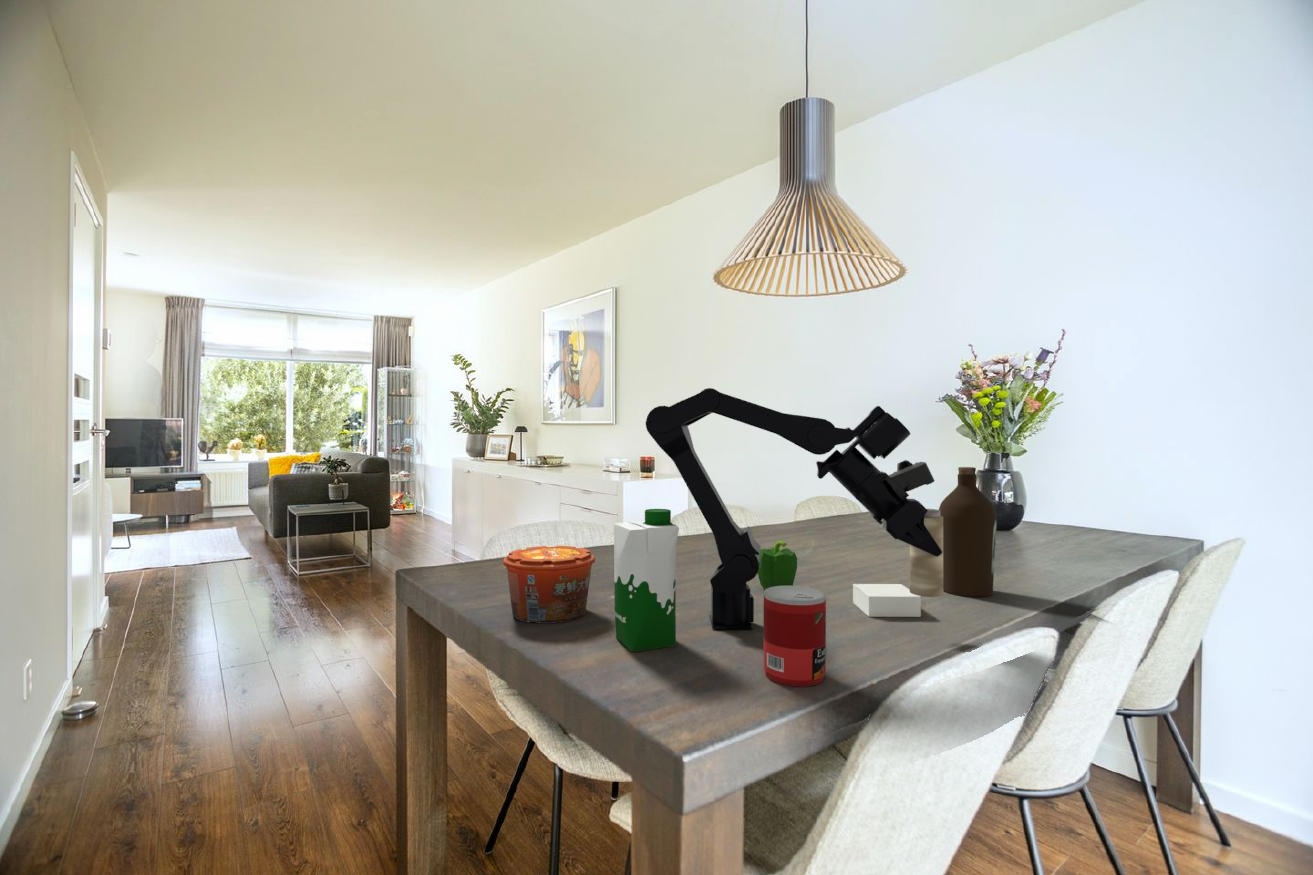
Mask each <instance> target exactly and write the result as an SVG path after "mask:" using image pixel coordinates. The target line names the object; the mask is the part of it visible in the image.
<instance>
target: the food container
mask: <svg viewBox="0 0 1313 875" xmlns="http://www.w3.org/2000/svg"><path fill="white" fill-rule="evenodd" d="M595 562H596V557H595V555H593V553H591V550H589V549H587V548H583V547H579V548H577V547H576V546H570V545H556V546H546V545H543V546H542V545H541V546H531V547H526V548H525V549H520V548H519V549H515V550H512V551H510V552H509V553H508V554H507V556H505V557H503V560H502V566H503V569H505V570H506V572H507V580H508V582H507V583H508V589H509V596H510V597H509V599H510V606H511V613H512V615H513V617H514V618H515V619H516V620H518V619H519V621H521V622H525V621H529V622H528V623H530V622H536V623H535V624H554V623H553V622H559V623H562V622H561V621H565V622H569V621H573V620H575V619H578V618H581V617H583V616H584V615H585V614H586V610H587V604H588V596H589V587H590V582H591V581H590V580H591V574H592V565H593V564H594V563H595ZM537 622H538V623H537ZM539 622H540V623H539Z"/></svg>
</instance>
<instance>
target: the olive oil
mask: <svg viewBox="0 0 1313 875" xmlns="http://www.w3.org/2000/svg"><path fill="white" fill-rule="evenodd" d="M957 469H958V474H957V486H956V487H955V488H954V489H953V490H952V491H951V492H950V493H949V494H948V495H947V496H946V497H945V498H944V499H943V500H942V501H941V502H940V505H939V506H938V510H940V516H942V517H943V592H945V593H946V594H947V593H948V594H952V595H955V596H961V597H969V598H970V597H971V598H984V597H990V596H992V595H993V593H994V578H995V577H994V575H995V558H996V557H995V555H996V554H995V553H996V542H997V541H996V540H997V526H998V525H997V524H998V519H997V518H998V515H997V511H996V508H995V506H994V504H993V502H991V500H990V499H989V498H988V497H987V496H986V495H985V494H984V493H983V492H982V491H981V490H980V489H979V488H978V486H977V474H976V471H977V470H976V467H973V466H972V467H971V466H960V467H958V468H957Z"/></svg>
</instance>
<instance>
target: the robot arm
mask: <svg viewBox="0 0 1313 875" xmlns="http://www.w3.org/2000/svg"><path fill="white" fill-rule="evenodd" d="M711 414H716V415H719V416H722V417H725V418H728V419H731V420H734V421H736V422H739V423H742V424H746V425H749V426H752V427H754V428H758V429H761V430H763V431H767V432H769V433H772V434H776V435H778V436H780V437H781V438H783V439H784V440H787V441H788V442H791V443H792V444H794V445H795V446H798V447H799V448H801V449H803V450H805V451H807V452H809V453H811V454H812V455H817V456H818V455H820V456H821V455H822V456H823V455H826V454H827V453H830V452H831V451H832V450H833V449H834V448H835V447H836V446H839V445H844V444H849V443H851V442H852V441H853V440H854V439H855V440H854V441H853V442H852V443H851V444H850V445H848V446H847V448H845V449H844V450H843V451H842V452H840V451H839V449H836V450H835V451H833V452H832V453H831V454H830V455H828V457H827V458H826V459H824V461H820V460H819V461H818V460H817V461H816V462H815V464H816V467H817V471H816V472H817V473H816V476H817V478H818V479H820V480H821V479H823V478H824V477H825V476H826V475H828V473H830V474H831V475H832V477H834V479H835V480H837V482H839V484H840V485H842V486H843V488H844V489H846V490H847V492H848V493H850V494H851V496H853V497H854V499H855V500H857V501H858V502H859V503H860V504H861V505H862V506H863V507H864V508H865V509H866V510H867V511H868V512H869V513H870V516H871V517H872V518H873V519H874V520H875V521H876V522H877V523H878V524H879V525H882V528H883V529H884V530H885V531H886V532H887V533H888V534H889V535H890V536H892V537H893V539H894V540H899V541H901V542H903V543H906V544H907V545H909V546H910V545H912V546H914V547H916V548H919V549H921V550H923V551H925V552H928V553H930V554H932V555H934V556H936V557H938V556H939V555H940V554H942V550H941V549H940V547H939V546H938V544H937V543H936V541H935V540H934V539H933V537H932V536H931V534H930V533H929V531H928V529H927V528H926V526H925V525H924V517H925V514H926V513H927V511H928V510H927V509H928V508H926V507H925V506H924V505H923V504H922V503H921V502H920V500H916V499H915V498H908V497H909V496H910V494H909V493H908V492H910V491H913V490H914V489H918V488H919V487H920V488H921V487H922V486H925V485H926V486H928V485H931V484H933V483H934V482H935V478H934V476H933V474H932V472H931V470H930V468H929V466H928V464H927V462H925V461H919V462H915V463H914V464H913V463H912V462H911V461H909V460H907V459H905V460H902V461H900V462H898V463H897V467H896V468H897V470H896V471H894V472H893V473H891V474H887V473H886V472H884V471H882V470H879V468H878V467H876V466H875V464H873V463H872V461H870V460H869V459H868V458H867V457H866V456H865V455H864V454H863V453H862V452H861V451H860V450H859V449H858V448H857V446H859V447H860V448H861V449H862V450H863V451H864V452H865V453H866V454H867V455H868V456H869V457H870V458H872V459H873V460H875V459H876V458H877V457H878V458H879V457H880V458H882V459H883V460H884V459H886V458H887V457H888V456H889V455H891V453H892V452H894V450H896V449H897V448H898V447H899V446H900V445H901V444H902V443H903V442H904V441H905V440H907V438H908V437H910V436H911V432H910V430H909V429H908V428H907V427H906V426H905V425H904V423H902V421H900V420H899V419H898V418H897V417H896V418H895V417H894V416H892V415H891V414H890V413H889V412H888V411H886V410H884V409H883V408H882V407H881V406H880V405H877V406H874V407H873V408H872V410H871V411H870V412H869V414H868V415H867V416H866V417H865V418H864V419H863V420H862V421H861V422H859V424H858V425H857V426H856V427H854V428H853V429H852V428H850V427H849V426H848V427H846V428H840V427H836V426H835V425H834V424H833V423H832V422H831V421H829V420H827V419H825V418H820V417H813V416H807V415H800V414H798V415H797V414H792V413H791V414H790V413H785V412H782V411H778V410H775V409H772V408H769V407H765V406H762V405H759V404H757V403H754V402H751V401H747V400H744V399H741V398H738V397H735V396H732V395H730V394H726V393H723V392H720V391H718V390H717V389H715V388H711V387H708V388H704V389H703V390H701V391H700V392H698V393H696V394H694V395H692V396H690V397H689V396H688V398H685V399H682V400H680V401H679V402H676V403H674V404H672V405H670V406H669V405H658V406H656V407H653V409H651V410H650V411H649V413H647V416H646V419H645V427H646V428H645V429H646V432H647V433H648V434H649V435H650V436H651V438H652V439H653V440H654V442H655V443H656V444H657V446H659V448H660V449H661V450H662V451H663V453H665V454H666V455H667V456H668V457H669V458H670V459H671V461H672V462H673V463H674V465H675V466H676V469H677V470H678V472H679V474H680V476H681V477H682V479H683V481H684V483H685V485H686V487H687V488H688V490H689V492H690V495H692V498H693V500H694V501H695V503H696V505H697V507H698V509H699V510H700V512H701V514H702V516H703V518H704V519H705V521H706V523H707V525H708V527H709V529H710V530H711V533H712V535H713V538H714V540H715V545H716V549H717V554H718V556H719V560H720V562H721V563H720V565H718V566H717V567H716V568H715V570H714V571H713V574H712V576H711V578H710V580H709V582H710V614H709V621H710V625H711V628H712V629H714V630H752V629H753V625H752V623H754V620H755V608H754V607H755V602H754V601H755V598H754V596H753V595H752V594H751V587H750V585H748V582H750V581H752V580H753V579H755V577H756V576H758V570H759V565H760V560H761V557H760V549H762V546H761V544H759V543H758V542H757V540H755V537H754V534H753V532H752V529H751V527H750V526H747V527H746V528H744V529H742V528H741V527H740V526H739V525H738V524H737V523H736V522H735V521H734V518H732V515H731V513H730V512H729V510H728V508H727V506H726V505H725V502H724V501H723V499H722V497H721V495H720V494H719V492H718V490H717V488H716V487H715V485H714V482H713V481H712V480H711V478H710V475H709V474H708V472H707V470H706V469H705V467H704V465H703V463H702V461H701V460H700V458H699V456H698V454H697V453H696V450H695V448H694V443H693V440H692V437H691V436H692V435H691V432H690V430H689V429H690V428H689V426H691V425H692V424H694V423H696V422H698V421H700V420H702V419H704V418H705V417H707V416H709V415H711Z"/></svg>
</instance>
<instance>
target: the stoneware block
mask: <svg viewBox="0 0 1313 875" xmlns="http://www.w3.org/2000/svg"><path fill="white" fill-rule="evenodd" d="M852 603H853V604H854V605H855V606H856V607H857V608H858V609H859V610H861V611H862V612H863V613H864V614H865V615H867V617H871V618H873V617H875V618H877V617H880V618H881V617H884V618H885V617H888V618H889V617H890V618H891V617H893V618H894V617H896V618H898V617H899V618H901V617H902V618H903V617H904V618H906V617H909V618H911V617H912V618H913V617H914V618H915V617H916V618H917V617H918V618H921V617H922V596H918V595H914V594H912V593H910V588H909V587H907V586H905V585H903V584H901V583H853V584H852Z"/></svg>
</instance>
